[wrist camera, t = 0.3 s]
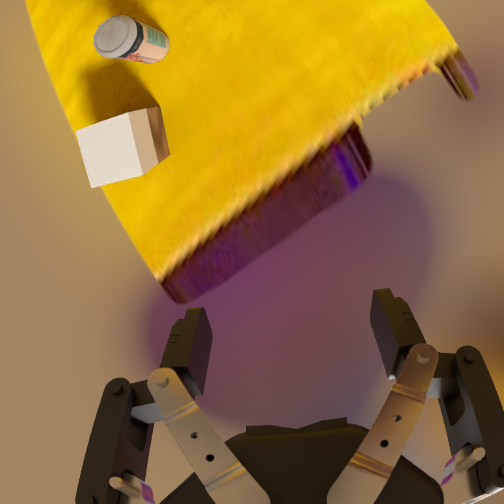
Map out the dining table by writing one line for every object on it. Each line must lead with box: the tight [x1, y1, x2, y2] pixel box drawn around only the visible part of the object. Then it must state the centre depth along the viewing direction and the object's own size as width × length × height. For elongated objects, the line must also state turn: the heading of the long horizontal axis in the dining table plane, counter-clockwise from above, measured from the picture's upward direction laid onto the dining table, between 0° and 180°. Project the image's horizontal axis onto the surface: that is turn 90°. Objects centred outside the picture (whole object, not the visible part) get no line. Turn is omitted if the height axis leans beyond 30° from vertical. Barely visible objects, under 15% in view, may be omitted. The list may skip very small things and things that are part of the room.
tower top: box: [76, 108, 158, 188], centre depth 30 cm, size 7×7×5 cm
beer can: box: [94, 15, 169, 63], centre depth 24 cm, size 5×5×12 cm
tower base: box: [146, 106, 170, 164], centre depth 34 cm, size 7×7×5 cm
